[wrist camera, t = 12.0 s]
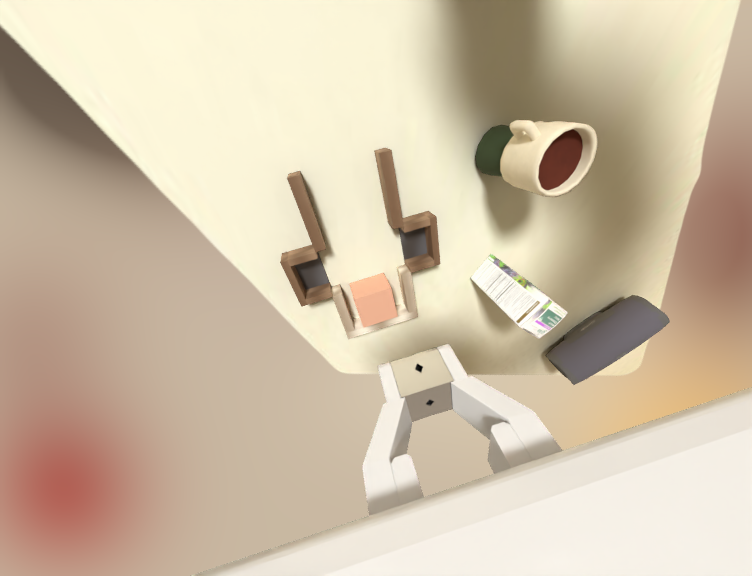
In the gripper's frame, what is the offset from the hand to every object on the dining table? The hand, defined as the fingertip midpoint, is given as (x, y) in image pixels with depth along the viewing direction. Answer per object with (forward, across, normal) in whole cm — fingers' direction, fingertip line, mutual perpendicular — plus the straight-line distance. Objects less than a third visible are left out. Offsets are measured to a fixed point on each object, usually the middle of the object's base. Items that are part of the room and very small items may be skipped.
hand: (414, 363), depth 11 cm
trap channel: (+31, 0, +11) cm, 33 cm away
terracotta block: (+31, 0, +19) cm, 36 cm away
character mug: (+32, -22, +1) cm, 39 cm away
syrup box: (+31, -22, +22) cm, 44 cm away
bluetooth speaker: (+31, -48, +48) cm, 74 cm away
